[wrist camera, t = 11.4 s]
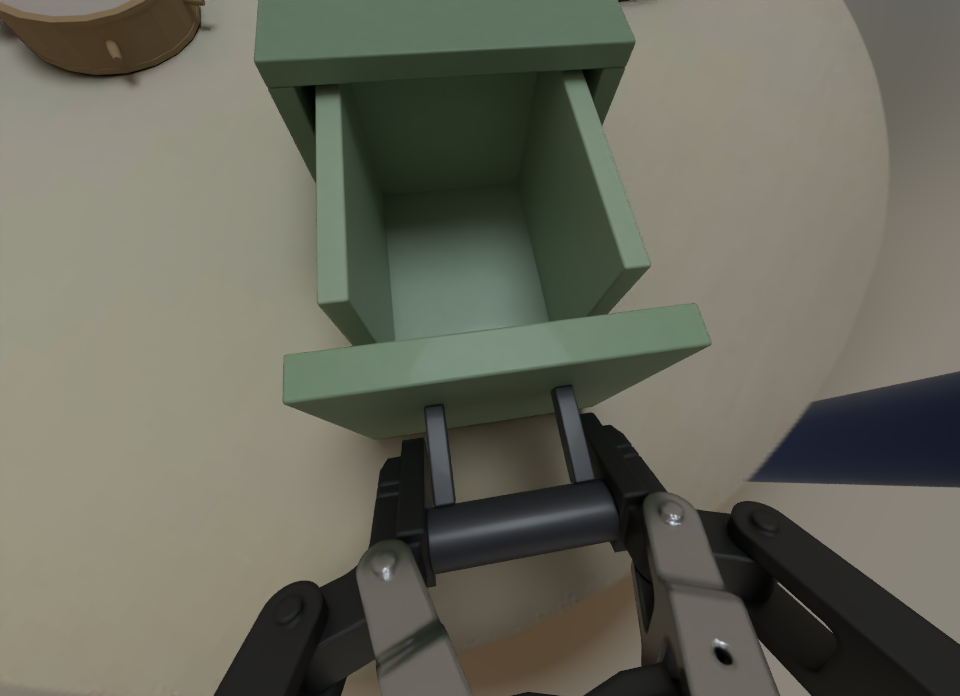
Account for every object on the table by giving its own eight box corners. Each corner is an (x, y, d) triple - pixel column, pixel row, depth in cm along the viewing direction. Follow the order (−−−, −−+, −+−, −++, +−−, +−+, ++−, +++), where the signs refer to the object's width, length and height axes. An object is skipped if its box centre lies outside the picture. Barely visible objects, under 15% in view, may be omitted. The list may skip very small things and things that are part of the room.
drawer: (618, 505, 16) (790, 539, 8) (379, 548, 15) (274, 642, 7) (536, 185, 22) (581, 4, 13) (359, 201, 21) (290, 16, 12)
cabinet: (555, 244, 21) (637, 40, 11) (356, 265, 20) (252, 61, 10) (510, 74, 26) (541, -175, 16) (347, 84, 25) (270, -177, 15)
